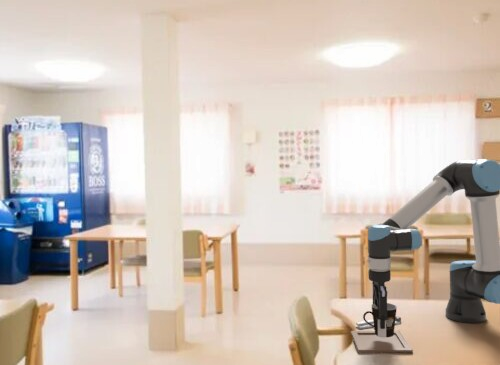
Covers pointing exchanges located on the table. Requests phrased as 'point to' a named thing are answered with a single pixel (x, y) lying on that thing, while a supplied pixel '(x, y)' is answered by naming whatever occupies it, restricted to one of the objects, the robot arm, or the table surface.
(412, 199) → the robot arm
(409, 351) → the tray
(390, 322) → the coffee mug
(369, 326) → the tongs
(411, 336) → the table surface
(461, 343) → the table surface
